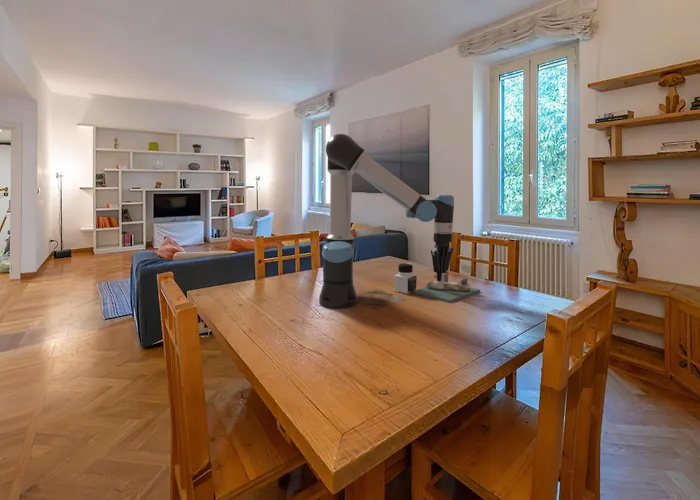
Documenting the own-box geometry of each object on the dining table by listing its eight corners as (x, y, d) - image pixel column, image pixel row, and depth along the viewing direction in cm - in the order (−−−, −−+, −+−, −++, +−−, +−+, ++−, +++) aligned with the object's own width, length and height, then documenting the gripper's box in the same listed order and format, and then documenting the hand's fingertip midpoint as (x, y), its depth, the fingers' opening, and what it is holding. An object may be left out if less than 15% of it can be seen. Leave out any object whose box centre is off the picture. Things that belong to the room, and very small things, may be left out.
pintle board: (449, 302, 148) (450, 287, 147) (413, 293, 162) (413, 279, 161) (479, 291, 163) (480, 278, 162) (444, 283, 176) (444, 271, 175)
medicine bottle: (407, 294, 160) (408, 266, 158) (393, 291, 165) (393, 264, 163) (416, 290, 166) (417, 263, 164) (402, 287, 170) (402, 261, 168)
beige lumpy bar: (469, 288, 163) (470, 282, 163) (469, 291, 158) (470, 285, 158) (427, 285, 168) (427, 280, 168) (425, 288, 163) (426, 283, 163)
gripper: (441, 234, 151) (438, 292, 154) (459, 232, 159) (456, 287, 163) (426, 232, 156) (423, 288, 160) (444, 230, 164) (441, 283, 168)
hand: (440, 287), depth 161 cm, fingers closed
